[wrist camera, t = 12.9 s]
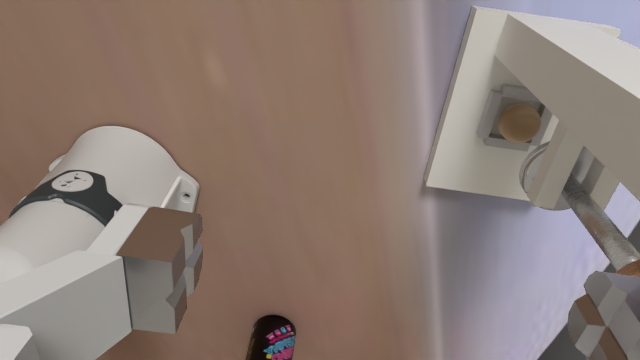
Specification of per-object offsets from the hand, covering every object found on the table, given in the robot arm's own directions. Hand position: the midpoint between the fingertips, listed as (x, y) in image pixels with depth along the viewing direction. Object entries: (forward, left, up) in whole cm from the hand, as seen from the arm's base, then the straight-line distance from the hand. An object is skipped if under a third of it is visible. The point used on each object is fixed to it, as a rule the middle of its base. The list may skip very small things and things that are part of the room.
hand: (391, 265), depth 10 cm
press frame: (-10, -18, -41) cm, 46 cm away
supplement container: (-50, +5, -41) cm, 65 cm away
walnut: (-10, -18, -37) cm, 42 cm away
